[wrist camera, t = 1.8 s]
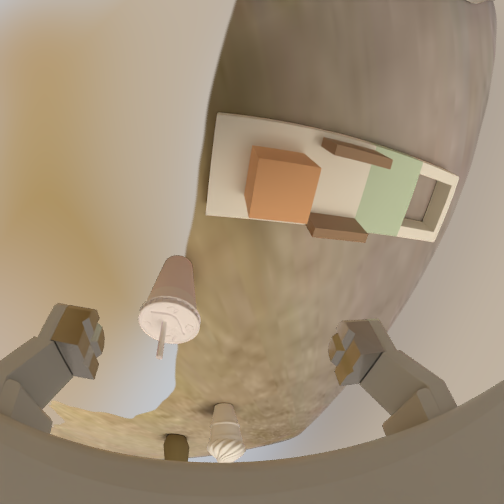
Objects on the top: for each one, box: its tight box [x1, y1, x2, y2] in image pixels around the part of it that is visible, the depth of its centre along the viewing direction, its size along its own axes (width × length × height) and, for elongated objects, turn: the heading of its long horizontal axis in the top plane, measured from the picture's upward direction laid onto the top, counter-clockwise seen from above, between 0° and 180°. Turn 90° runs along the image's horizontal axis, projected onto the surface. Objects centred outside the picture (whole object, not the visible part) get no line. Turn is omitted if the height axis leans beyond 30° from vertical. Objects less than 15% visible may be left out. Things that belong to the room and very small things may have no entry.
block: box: [244, 145, 322, 224], centre depth 23 cm, size 5×5×5 cm
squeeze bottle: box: [164, 434, 189, 462], centre depth 61 cm, size 8×8×18 cm
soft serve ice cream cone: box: [207, 403, 246, 463], centre depth 50 cm, size 8×8×16 cm
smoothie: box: [138, 255, 201, 359], centre depth 28 cm, size 6×6×14 cm
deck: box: [206, 112, 459, 243], centre depth 27 cm, size 10×30×6 cm, turn 81°
